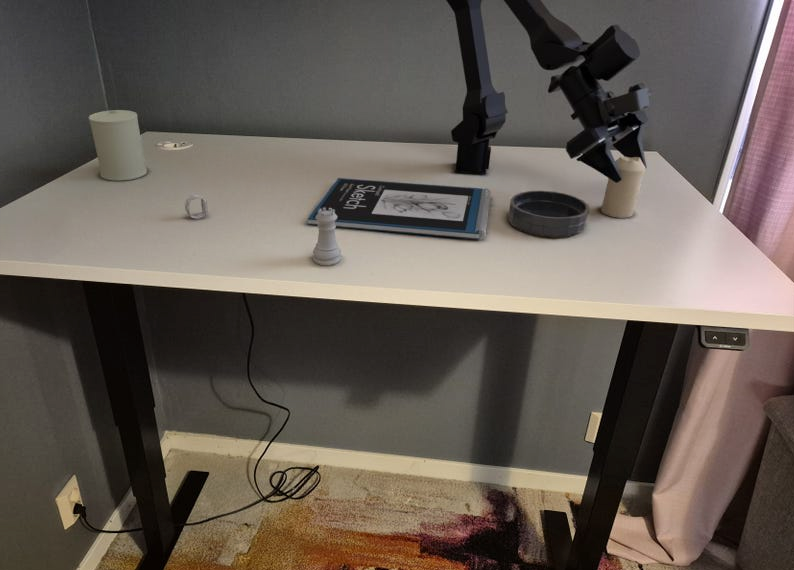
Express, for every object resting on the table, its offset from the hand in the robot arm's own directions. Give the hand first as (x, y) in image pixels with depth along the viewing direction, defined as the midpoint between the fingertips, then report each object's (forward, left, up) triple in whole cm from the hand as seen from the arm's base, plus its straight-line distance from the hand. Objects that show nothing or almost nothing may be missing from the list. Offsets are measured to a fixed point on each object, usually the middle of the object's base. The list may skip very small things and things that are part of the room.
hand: (632, 175), depth 111 cm
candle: (-1, +1, -7) cm, 7 cm away
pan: (-14, -7, -7) cm, 17 cm away
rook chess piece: (-48, -29, -7) cm, 57 cm away
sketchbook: (-39, -6, -7) cm, 40 cm away
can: (-98, +2, -7) cm, 98 cm away
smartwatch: (-74, -17, -7) cm, 76 cm away
